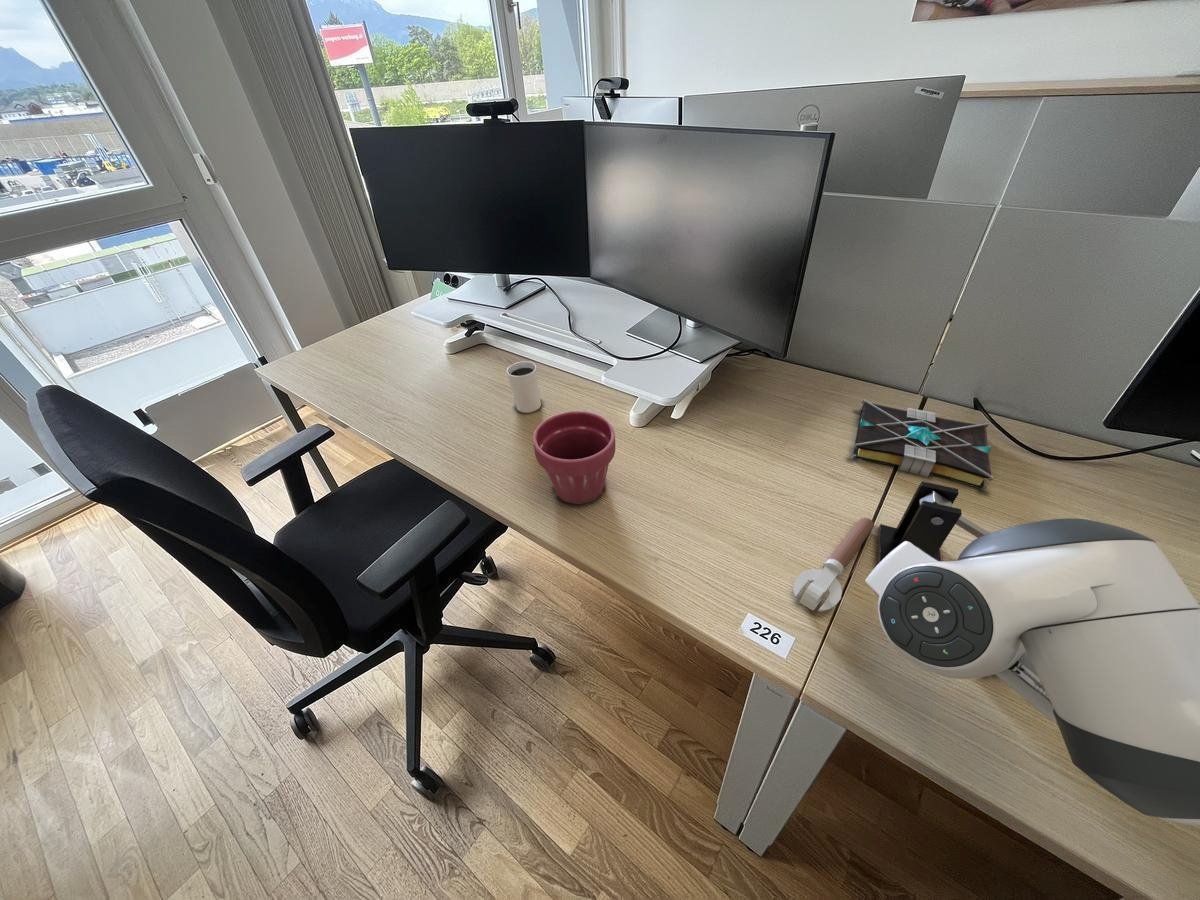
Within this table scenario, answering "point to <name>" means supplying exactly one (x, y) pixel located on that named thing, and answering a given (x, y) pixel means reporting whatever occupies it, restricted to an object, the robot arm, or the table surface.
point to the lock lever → (961, 521)
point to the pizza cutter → (832, 570)
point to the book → (923, 444)
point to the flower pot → (575, 453)
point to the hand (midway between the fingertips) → (980, 630)
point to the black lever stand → (922, 523)
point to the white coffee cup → (524, 386)
